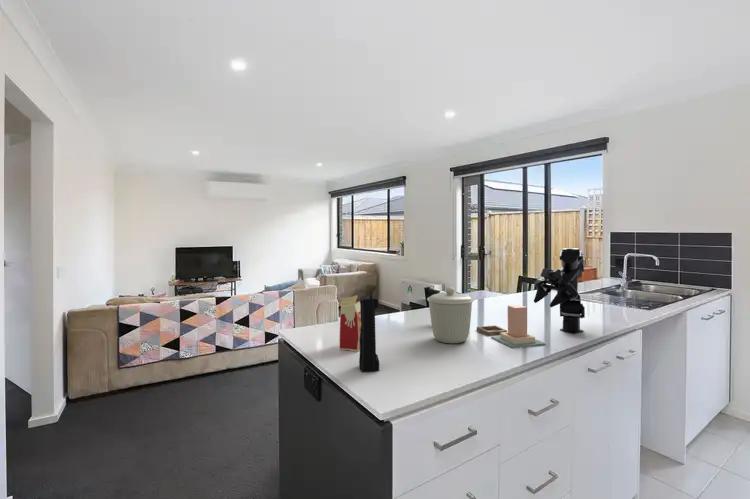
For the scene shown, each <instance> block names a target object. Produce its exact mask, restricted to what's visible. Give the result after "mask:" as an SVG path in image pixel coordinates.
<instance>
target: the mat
mask: <svg viewBox="0 0 750 499" xmlns="http://www.w3.org/2000/svg"><path fill="white" fill-rule="evenodd" d="M490 338H491V340H495V341H496V342H498V343H501V344H503V345H504V346H506V347H509V348H510V349H521V348H529V346H531V347H539V346H540V345H541V346H546V343H545V342H543V341H540V340H538V339H536V336H534V335H532V334H530V333H527V337H520V338H514V337H511V336H509V335H508V331H507V332H503V333H500V335H491V337H490ZM520 347H521V348H520Z"/></svg>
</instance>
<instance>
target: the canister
mask: <svg viewBox="0 0 750 499" xmlns="http://www.w3.org/2000/svg"><path fill="white" fill-rule="evenodd" d="M455 290H456V289H455V288H454V287H453V286H448V287H446V288H445V291H446V293H439V292H438V293H434V294H432V295H430V296H428V297H427V298H426V301H427V302H428V305H429V307H428V308H429V314H430V322H431V329H432V334H433V337H434V339H435V340H436V341H438V342H440V343H444V344H460V343H464V342H465V341H467V340H468V337H469V335H470V327H471V319H472V318H471V317H472V310H473V308H472V307H473V302H474V300H475V299H474V298H473V297H471V296H470V295H468V294H466V293H465V294H463V293H458V292H455Z"/></svg>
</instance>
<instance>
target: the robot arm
mask: <svg viewBox="0 0 750 499" xmlns="http://www.w3.org/2000/svg"><path fill="white" fill-rule="evenodd" d="M584 260H585V259H584V254H583V252H582V251H581V250H580V248H562V249H561V251H560V252H559V261H561V262H560V263H561V266H562V267H561V268H560V269H558V268H554V269H550V268H542V270H541V273H540V277H542V278H544V279H539V278H538V279H536V280H535V281H534V285H535V287H536V292H535V296H534V299H533V303H534V304H537V303H538V302H540V301H541V300H542V299H544V298H545V297H547V296H548V295H549V294H550V293H551V291H556V294H555V296H554V297H553V299H552V300H551V302H550V304H549V307H550V308H553V307H556V306H558V305H559V317H562V328H559V330H560V331H563V332H566V333H570V334H577V333H582V332H584V329H581V321H580V320H581V319H584V318H585V317H586V311H585V310H586V309H585V306H584V304H583V303H582V299H581V295H580V294H579V292H578V287H579V279H581V278H582V277H583V273H584V271H585V263H584V262H585V261H584ZM545 279H547V280H545Z"/></svg>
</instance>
